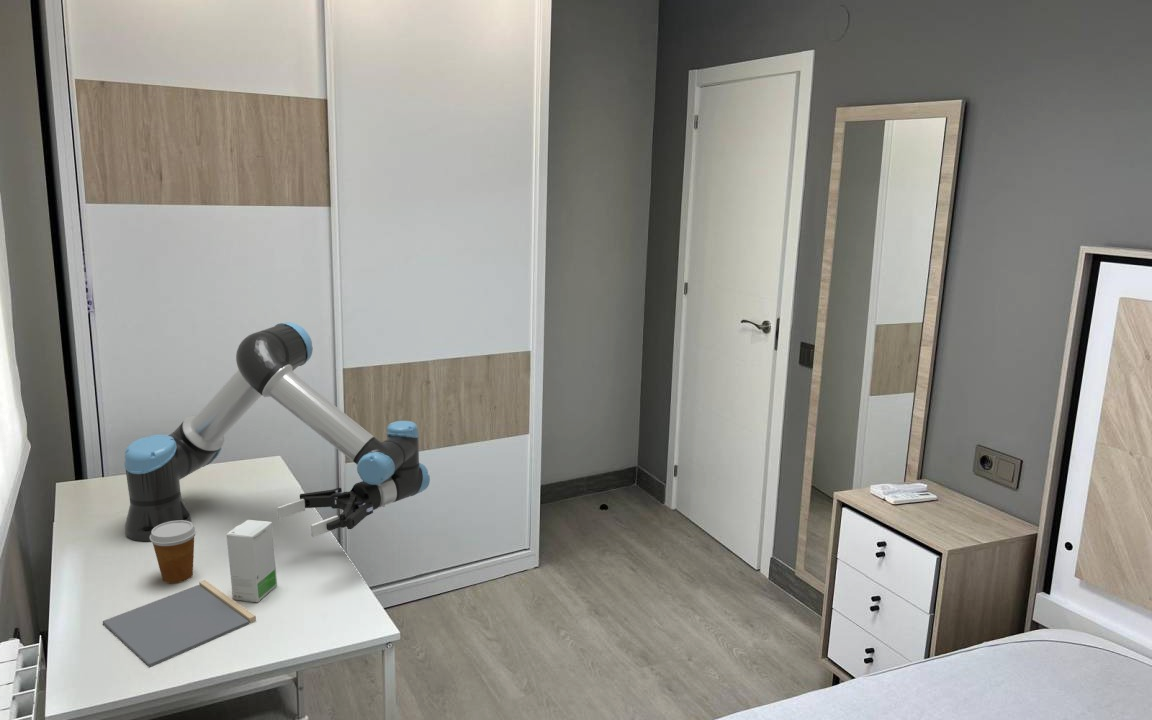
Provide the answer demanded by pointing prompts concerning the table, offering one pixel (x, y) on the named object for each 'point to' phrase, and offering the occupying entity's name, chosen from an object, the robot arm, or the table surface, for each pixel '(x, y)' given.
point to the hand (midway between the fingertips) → (295, 521)
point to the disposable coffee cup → (174, 549)
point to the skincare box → (252, 560)
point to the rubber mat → (178, 622)
